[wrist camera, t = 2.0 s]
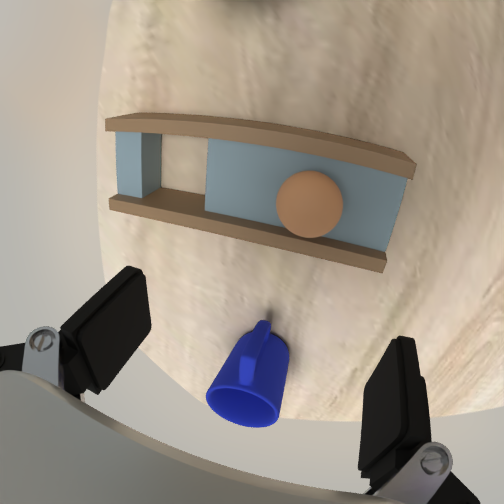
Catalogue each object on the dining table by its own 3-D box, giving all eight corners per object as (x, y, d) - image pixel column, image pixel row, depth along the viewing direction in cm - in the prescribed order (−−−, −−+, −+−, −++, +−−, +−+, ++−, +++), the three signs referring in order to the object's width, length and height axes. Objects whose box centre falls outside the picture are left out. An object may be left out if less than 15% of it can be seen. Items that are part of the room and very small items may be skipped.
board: (403, 152, 22) (416, 164, 18) (377, 245, 27) (382, 273, 23) (137, 112, 27) (105, 118, 23) (137, 193, 32) (109, 209, 28)
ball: (349, 172, 22) (350, 189, 18) (336, 228, 24) (333, 256, 20) (287, 158, 22) (274, 173, 18) (278, 215, 25) (264, 240, 21)
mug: (307, 307, 33) (290, 377, 24) (290, 373, 39) (273, 434, 30) (236, 291, 35) (201, 352, 26) (233, 358, 41) (206, 415, 32)
